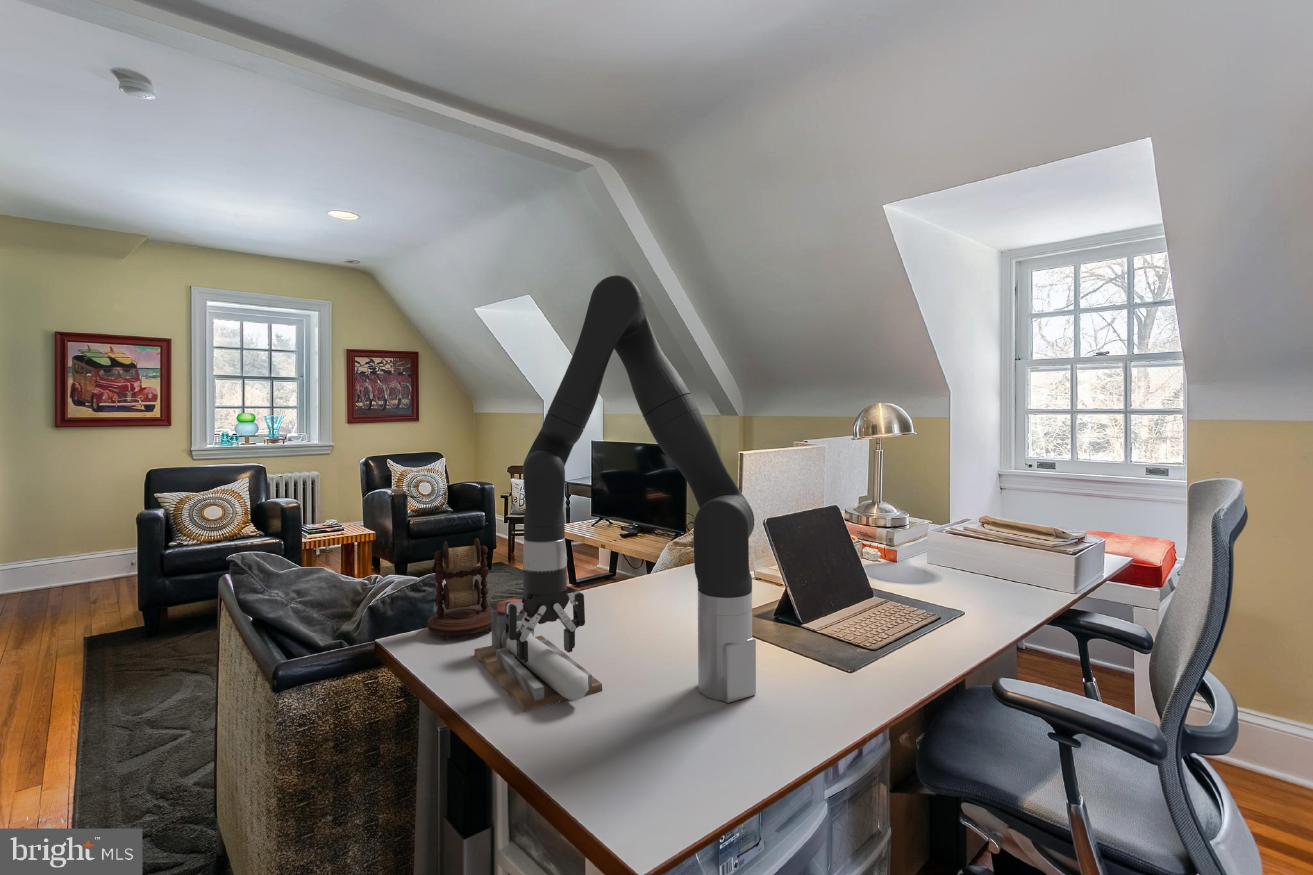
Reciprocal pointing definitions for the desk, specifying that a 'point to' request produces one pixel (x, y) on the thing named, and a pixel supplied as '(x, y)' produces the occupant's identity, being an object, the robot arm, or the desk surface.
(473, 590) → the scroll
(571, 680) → the tube
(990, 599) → the desk surface
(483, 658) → the pipe rack
